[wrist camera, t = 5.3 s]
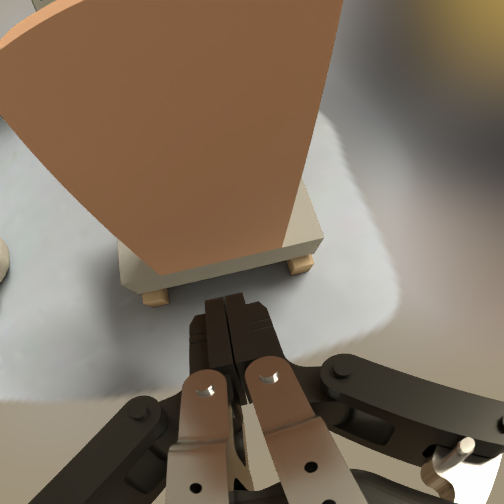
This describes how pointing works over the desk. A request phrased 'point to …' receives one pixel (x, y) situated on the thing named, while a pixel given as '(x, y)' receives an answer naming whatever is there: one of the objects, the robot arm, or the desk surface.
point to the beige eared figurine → (3, 259)
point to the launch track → (162, 295)
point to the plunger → (177, 124)
